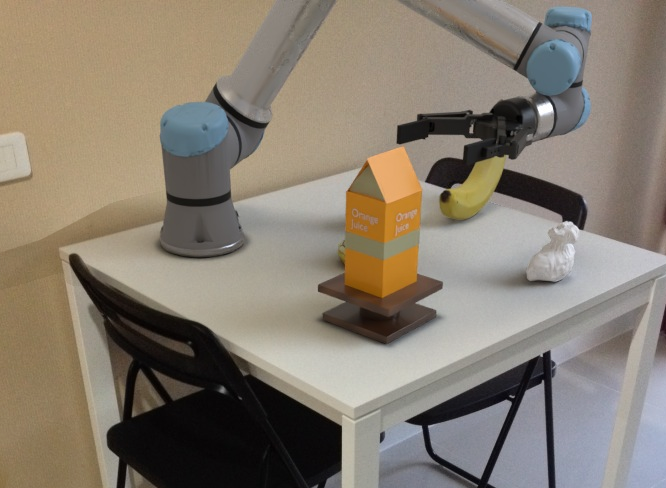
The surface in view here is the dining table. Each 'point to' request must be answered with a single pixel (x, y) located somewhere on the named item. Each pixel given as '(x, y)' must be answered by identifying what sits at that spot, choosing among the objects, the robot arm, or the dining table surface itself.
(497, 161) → the banana
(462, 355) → the dining table surface
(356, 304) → the stand
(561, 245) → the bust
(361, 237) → the orange juice
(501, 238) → the dining table surface
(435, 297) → the dining table surface
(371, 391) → the dining table surface
